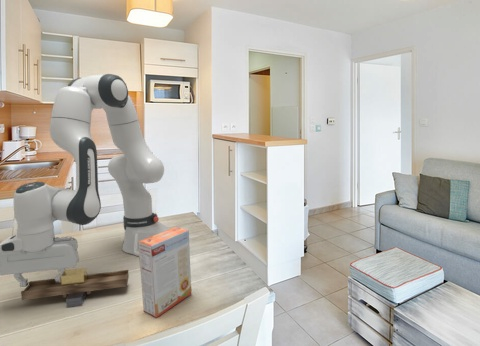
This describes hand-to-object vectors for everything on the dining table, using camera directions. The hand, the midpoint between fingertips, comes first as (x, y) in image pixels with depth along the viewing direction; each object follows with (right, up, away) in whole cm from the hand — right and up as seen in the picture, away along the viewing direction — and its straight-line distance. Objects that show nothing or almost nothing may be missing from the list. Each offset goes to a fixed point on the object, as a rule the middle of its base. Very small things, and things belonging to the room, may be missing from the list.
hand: (42, 283), depth 89 cm
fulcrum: (+9, -5, +3) cm, 11 cm away
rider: (+8, -1, +2) cm, 9 cm away
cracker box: (+37, -6, 0) cm, 38 cm away
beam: (+9, -2, +3) cm, 10 cm away
